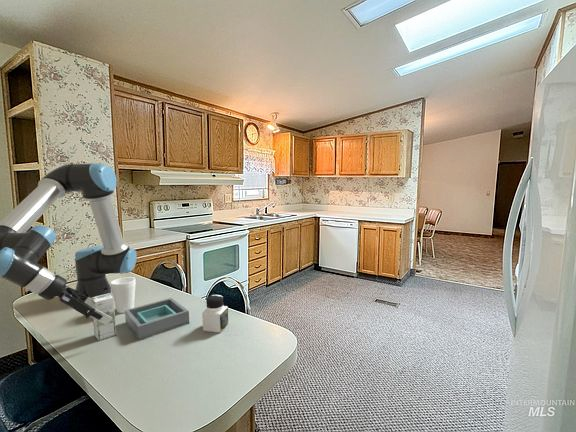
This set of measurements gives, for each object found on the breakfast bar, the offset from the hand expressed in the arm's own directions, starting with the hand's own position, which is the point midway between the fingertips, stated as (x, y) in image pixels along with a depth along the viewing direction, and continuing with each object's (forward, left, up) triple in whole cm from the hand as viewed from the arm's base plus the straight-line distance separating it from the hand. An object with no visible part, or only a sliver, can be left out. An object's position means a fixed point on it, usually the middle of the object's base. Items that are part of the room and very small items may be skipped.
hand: (105, 314), depth 106 cm
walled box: (+3, +17, -8) cm, 18 cm away
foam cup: (-19, +11, -8) cm, 23 cm away
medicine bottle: (+22, +32, -8) cm, 39 cm away
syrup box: (0, 0, -8) cm, 8 cm away
